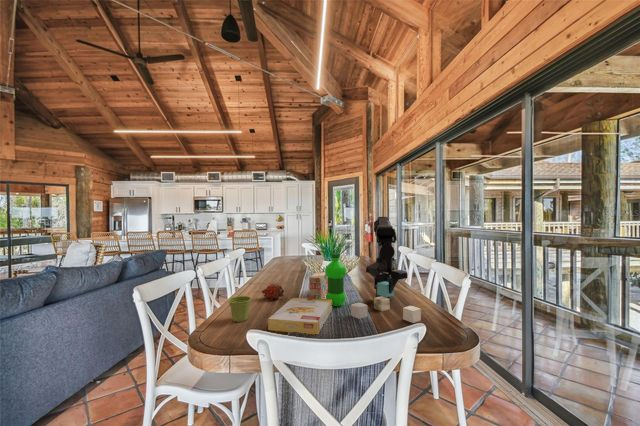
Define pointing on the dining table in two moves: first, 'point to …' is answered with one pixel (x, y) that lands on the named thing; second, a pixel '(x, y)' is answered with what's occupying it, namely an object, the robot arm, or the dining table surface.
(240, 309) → the plant pot
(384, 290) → the teal cube
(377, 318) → the dining table surface
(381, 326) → the dining table surface
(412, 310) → the cream cube
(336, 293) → the plastic bottle
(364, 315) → the pale grey cube
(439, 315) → the dining table surface
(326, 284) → the printed food carton
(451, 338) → the dining table surface
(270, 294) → the dragon fruit
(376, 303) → the light ash cube
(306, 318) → the cereal box
